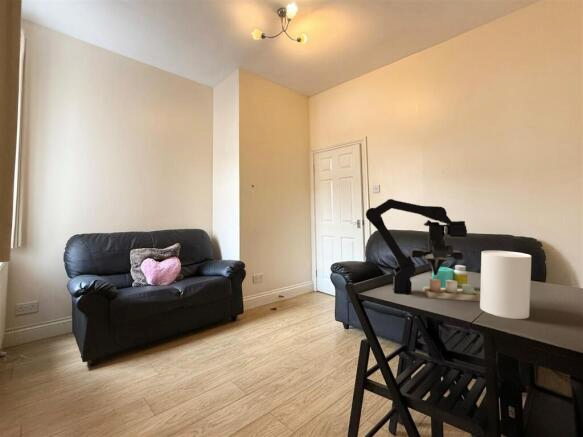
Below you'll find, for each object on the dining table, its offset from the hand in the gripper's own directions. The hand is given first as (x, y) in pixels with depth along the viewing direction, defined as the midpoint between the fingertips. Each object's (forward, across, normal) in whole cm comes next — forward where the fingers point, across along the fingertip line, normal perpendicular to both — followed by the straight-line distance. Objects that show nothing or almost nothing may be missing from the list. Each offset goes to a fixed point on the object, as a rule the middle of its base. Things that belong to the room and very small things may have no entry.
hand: (435, 274), depth 114 cm
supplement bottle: (+8, +13, +13) cm, 20 cm away
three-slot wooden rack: (+8, +6, 0) cm, 10 cm away
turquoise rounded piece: (+8, +6, +14) cm, 18 cm away
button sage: (+8, +12, 0) cm, 14 cm away
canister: (+8, +19, -14) cm, 25 cm away
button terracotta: (+6, 0, 0) cm, 6 cm away
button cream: (+6, +6, 0) cm, 9 cm away
